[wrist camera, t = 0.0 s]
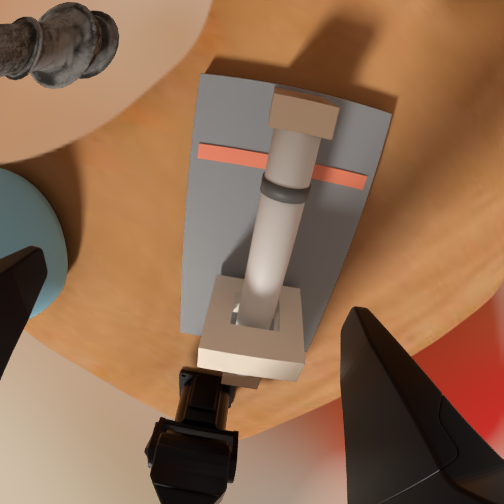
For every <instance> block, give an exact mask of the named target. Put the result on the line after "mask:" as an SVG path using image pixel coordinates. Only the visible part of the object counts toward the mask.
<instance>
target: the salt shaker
mask: <svg viewBox="0 0 504 504" xmlns="http://www.w3.org/2000/svg"><path fill="white" fill-rule="evenodd" d="M118 42H119V33H118V28H117V25H116V23H115V21H114V20H113V19H112V18H111V17H110V16H109V15H108V14H105V13H103V12H100V11H90V10H88V8H87V7H86V6H83V5H81V4H79V3H72V2H66V3H63V4H59V5H57V6H55V7H53V8H51V9H50V10H49V11H47V12H46V13H45V14H44V15H43V16H42V17H41V18H40V20H39V21H37V20H36V19H34V18H32V17H22V18H19V19H17V20H16V21H14V22H13V23H12V24H0V77H2V76H6V77H7V78H9V79H12V80H18V79H22V78H24V77H25V76H27V75H28V74H29V73H31V76H32V77H33V78H34V79H35V81H36V82H37V83H39V84H40V85H42V86H43V87H46V88H51V89H56V88H63V87H65V86H67V85H69V84H71V83H73V82H74V81H75V80H77V79H78V78H80V79H83V78H90V77H93V76H95V75H97V74H99V73H100V72H102V71H103V70H104V69H105V68H106V67H107V66H108V65H109V64H110V63H111V61H112V59H113V58H114V56H115V54H116V51H117V48H118Z"/></svg>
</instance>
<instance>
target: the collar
mask: <svg viewBox="0 0 504 504" xmlns="http://www.w3.org/2000/svg"><path fill="white" fill-rule="evenodd" d="M243 283H244V279H240V278H234V277H229V276H223V275H216V279H215V283H214V287H213V291H212V295H211V299H210V303H209V307H208V311H207V315H206V319H205V323H204V327H203V331H202V335H201V339H200V344H199V348H198V362H197V367H200V368H205V369H211V370H217V371H222V372H228V373H234V374H241V375H248V376H254V377H262V378H269V379H277V380H286V381H295V382H297V380H298V378H299V376H300V374H301V372H302V369H303V367H304V365H305V351H304V335H303V320H302V306H301V294H300V288H294V287H288V286H282V288H281V292H280V295H279V299H278V302H277V306H276V309H275V312H274V316H273V318H274V331H272V330H266V329H259V328H253V327H247V326H240V325H234V324H230V322H231V316H232V312H237V313H238V310H239V304H240V299H241V294H242V289H243Z"/></svg>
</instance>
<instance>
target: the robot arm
mask: <svg viewBox="0 0 504 504" xmlns="http://www.w3.org/2000/svg"><path fill="white" fill-rule="evenodd" d="M47 274H48V269H47V265H46V261H45V257H44V252H43V250H42V249H41V248H40V247H36V246H28V247H26V248H23V249H21V250H19V251H16V252H14V253H12V254H10V255H7V256H5V257H3V258H1V259H0V380H1V377H2V375H3V372H4V370H5V368H6V365H7V363H8V361H9V359H10V357H11V354H12V352H13V350H14V348H15V346H16V344H17V342H18V339H19V337H20V335H21V333H22V331H23V329H24V327H25V325H26V323H27V321H28V319H29V317H30V315H31V313H32V310H33V308H34V306H35V303H36V301H37V298H38V296H39V294H40V292H41V289H42V287H43V285H44V283H45V280H46V278H47ZM221 381H222V378H221V377H215V376H210V375H204V374H199V373H194V372H189V371H183V370H182V371H180V374H179V388H180V400H179V405H178V409H177V413H176V417H175V421H173V420H168V419H165V418H163V417H160V420H159V422H156V423H155V427H154V431H153V434H152V436H151V438H150V440H149V442H148V444H147V446H146V448H145V454H146V456H147V460H148V467H149V468H151V473H150V477H151V479H152V483H153V485H154V488H155V491H156V493H157V496H158V498H159V500H160V503H161V504H219V503H220V502H221V500H222V498H223V496H224V494H225V491H226V488H227V483H233V481H234V477H235V471H236V463H237V449H238V433H239V431H227V430H225V428H226V421H227V413H228V408H230V407H231V403H232V399H233V395H234V391H235V387H236V386H232V385H226V384H221ZM340 385H341V397H342V409H343V421H344V435H345V451H346V471H347V500H348V504H504V459H502V458H501V457H500V456H499V455H498V454H497V453H496V452H495V451H494V450H493V449H492V448H491V447H490V446H489V445H488V444H487V443H486V442H485V441H484V439H482V437H481V436H480V435H479V434H478V433H477V432H476V431H475V430H474V429H473V428H472V427H471V426H470V425H469V424H468V422H467V421H466V420H465V419H464V418H463V417H462V416H461V415H460V414H459V413H458V411H457V410H456V409H455V408H454V407H453V406H452V404H451V403H450V402H449V401H448V400H447V398H446V397H445V396H444V395H442V392H441V391H440V390H439V389H438V388H437V387H436V385H435V384H434V383H433V382H432V381H431V379H430V378H429V377H428V376H427V375H426V374H425V373H424V371H423V370H422V369H421V368H420V367H419V366H418V364H417V363H416V362H415V361H414V360H413V359H412V357H411V356H410V355H409V354H408V353H407V352H406V351H405V349H404V348H403V347H402V346H401V345H400V344H399V343H398V342H397V340H396V339H395V338H394V337H393V336H392V335H391V334H390V333H389V331H388V330H387V329H386V328H385V327H384V326H383V325H382V324H381V323H380V321H379V320H378V319H377V318H376V317H375V316H374V315H373V314H372V313H371V312H370V310H369V309H367V308H364V307H357V306H355V307H353V308H352V309H351V310H350V312H349V314H348V316H347V318H346V320H345V322H344V324H343V327H342V329H341V363H340Z"/></svg>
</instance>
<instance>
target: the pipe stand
mask: <svg viewBox="0 0 504 504" xmlns="http://www.w3.org/2000/svg"><path fill="white" fill-rule="evenodd" d="M391 117H392V114H391V113H388V112H386V111H383V110H380V109H377V108H374V107H371V106H367V105H364V104H361V103H357V102H354V101H350V100H347V99H343V98H339V97H335V96H331V95H327V94H323V93H319V92H315V91H311V90H306V89H302V88H297V87H292V86H287V85H282V84H277V83H271V82H266V81H260V80H254V79H247V78H240V77H233V76H225V75H217V74H207V73H202V74H200V80H199V87H198V94H197V102H196V110H195V118H194V126H193V135H192V144H191V154H190V164H189V174H188V186H187V198H186V211H185V226H184V242H183V261H182V285H181V322H180V332H182V333H187V334H192V335H198V336H201V335H202V331H203V327H204V323H205V319H206V315H207V311H208V307H209V303H210V299H211V295H212V291H213V287H214V283H215V279H216V275H223V276H229V277H234V278H240V279H244V283H243V289H242V294H241V299H240V304H239V310H238V313H237V312H232V316H231V322H230V324H234V325H240V326H247V327H253V328H259V329H266V330H272V331H274V318H273V316H274V312H275V309H276V306H277V302H278V299H279V295H280V292H281V288H282V286H288V287H294V288H300V294H301V306H302V320H303V335H304V351H305V352H307V350H308V348H309V345H310V343H311V341H312V339H313V336H314V334H315V332H316V330H317V327H318V325H319V323H320V320H321V318H322V316H323V313H324V311H325V309H326V306H327V304H328V301H329V299H330V296H331V294H332V292H333V289H334V287H335V284H336V282H337V279H338V277H339V274H340V271H341V269H342V266H343V264H344V261H345V258H346V256H347V253H348V250H349V248H350V245H351V242H352V240H353V237H354V234H355V231H356V229H357V226H358V223H359V220H360V217H361V214H362V211H363V208H364V205H365V203H366V200H367V197H368V194H369V190H370V187H371V184H372V181H373V178H374V175H375V172H376V169H377V165H378V162H379V159H380V155H381V152H382V149H383V145H384V142H385V138H386V135H387V131H388V128H389V124H390V120H391ZM260 380H261V377H254V376H248V375H241V374H234V373H228V372H223V375H222V381H221V384H226V385H232V386H238V387H245V388H252V389H257V388H258V385H259V382H260Z"/></svg>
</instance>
